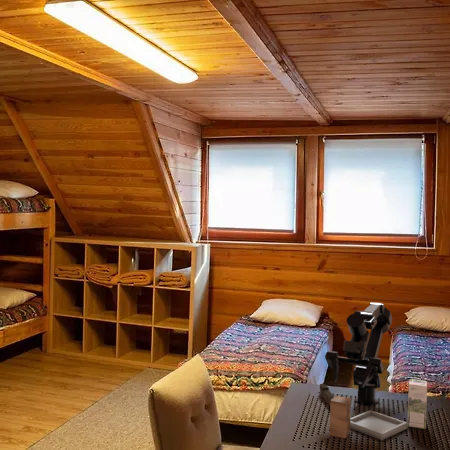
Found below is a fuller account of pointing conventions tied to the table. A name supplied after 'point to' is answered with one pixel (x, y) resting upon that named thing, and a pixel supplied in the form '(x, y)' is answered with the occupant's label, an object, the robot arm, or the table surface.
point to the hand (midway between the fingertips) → (348, 384)
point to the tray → (377, 424)
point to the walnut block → (340, 416)
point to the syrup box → (417, 403)
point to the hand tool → (326, 393)
